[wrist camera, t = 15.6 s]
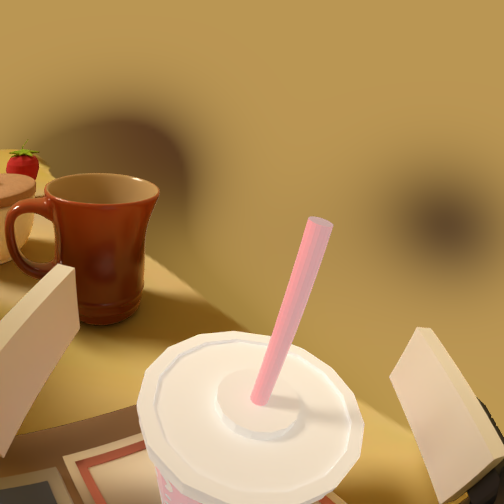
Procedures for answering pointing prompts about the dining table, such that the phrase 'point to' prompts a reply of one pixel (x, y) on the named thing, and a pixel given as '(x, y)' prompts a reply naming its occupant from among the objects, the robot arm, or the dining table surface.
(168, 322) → the dining table surface
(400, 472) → the dining table surface
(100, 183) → the mug
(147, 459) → the stamp board
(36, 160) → the strawberry
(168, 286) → the dining table surface
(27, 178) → the lidded jar
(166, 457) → the beverage cup
